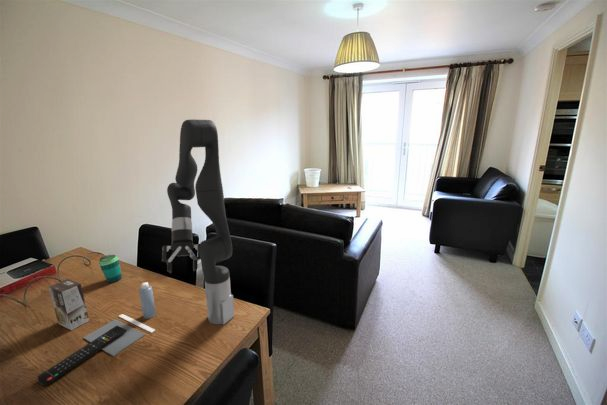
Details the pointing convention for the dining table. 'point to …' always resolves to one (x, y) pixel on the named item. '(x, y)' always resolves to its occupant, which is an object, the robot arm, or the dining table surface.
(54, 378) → the remote control
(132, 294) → the dining table surface
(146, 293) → the slim bottle
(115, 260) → the cup
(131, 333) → the mat
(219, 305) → the robot arm
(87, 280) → the dining table surface
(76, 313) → the coffee box
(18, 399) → the dining table surface
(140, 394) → the dining table surface
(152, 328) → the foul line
